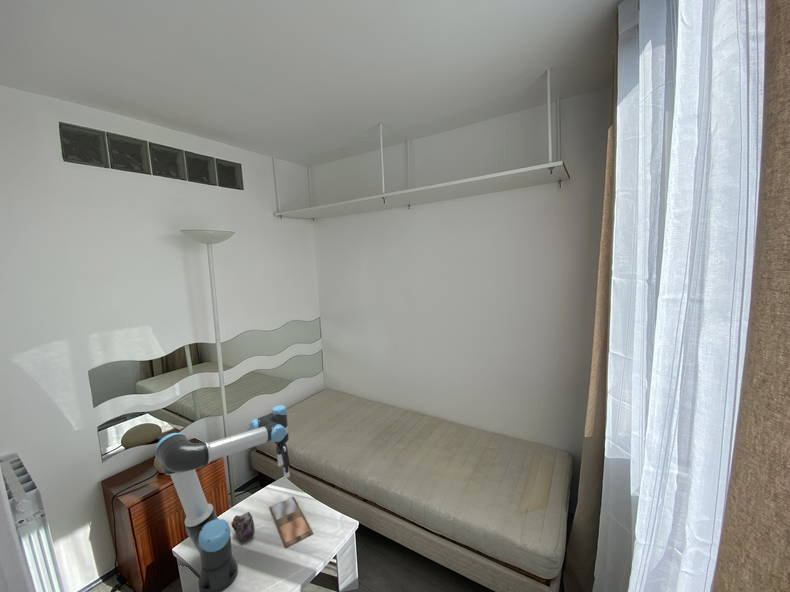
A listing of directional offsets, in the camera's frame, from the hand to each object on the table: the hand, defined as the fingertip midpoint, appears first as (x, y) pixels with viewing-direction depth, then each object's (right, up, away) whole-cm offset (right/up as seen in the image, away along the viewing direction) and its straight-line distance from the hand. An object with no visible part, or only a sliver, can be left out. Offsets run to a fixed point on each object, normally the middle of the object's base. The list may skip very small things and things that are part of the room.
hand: (283, 471), depth 178 cm
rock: (-15, -16, -19) cm, 29 cm away
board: (+6, -23, -6) cm, 25 cm away
